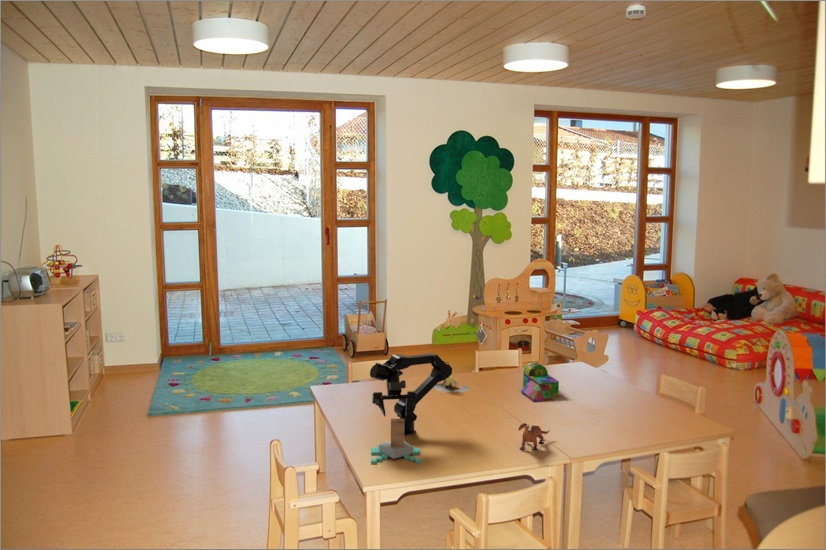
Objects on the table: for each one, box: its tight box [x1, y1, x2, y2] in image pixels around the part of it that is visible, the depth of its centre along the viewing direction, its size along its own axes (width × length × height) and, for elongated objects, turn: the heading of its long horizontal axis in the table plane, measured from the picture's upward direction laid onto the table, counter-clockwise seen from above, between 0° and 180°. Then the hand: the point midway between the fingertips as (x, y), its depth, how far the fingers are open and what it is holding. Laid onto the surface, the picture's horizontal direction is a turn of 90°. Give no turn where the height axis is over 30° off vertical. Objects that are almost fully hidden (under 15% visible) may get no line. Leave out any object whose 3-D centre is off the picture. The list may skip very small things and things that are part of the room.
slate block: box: [378, 440, 414, 460], centre depth 270 cm, size 10×10×3 cm
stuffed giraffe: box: [432, 360, 470, 394], centre depth 359 cm, size 16×18×16 cm
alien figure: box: [370, 445, 422, 465], centre depth 271 cm, size 20×2×20 cm
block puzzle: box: [520, 361, 560, 403], centre depth 352 cm, size 25×17×14 cm
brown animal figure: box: [518, 422, 551, 452], centre depth 277 cm, size 8×30×15 cm, turn 152°
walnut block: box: [390, 418, 405, 447], centre depth 270 cm, size 6×6×10 cm
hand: (395, 415), depth 276 cm, fingers open, 9 cm apart
